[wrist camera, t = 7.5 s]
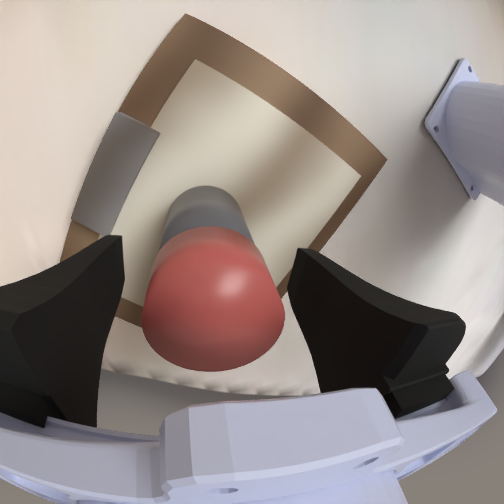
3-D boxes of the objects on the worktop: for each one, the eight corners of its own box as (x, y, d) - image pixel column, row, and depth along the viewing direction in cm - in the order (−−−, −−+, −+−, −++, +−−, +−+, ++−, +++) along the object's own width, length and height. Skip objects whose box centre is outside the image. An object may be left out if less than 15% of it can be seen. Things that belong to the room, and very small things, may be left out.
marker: (248, 185, 14) (297, 266, 7) (240, 257, 16) (272, 368, 9) (166, 182, 13) (132, 265, 6) (166, 255, 15) (151, 371, 8)
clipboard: (382, 157, 15) (396, 163, 14) (228, 352, 21) (230, 368, 20) (185, 16, 10) (184, 6, 8) (57, 281, 16) (49, 295, 14)
